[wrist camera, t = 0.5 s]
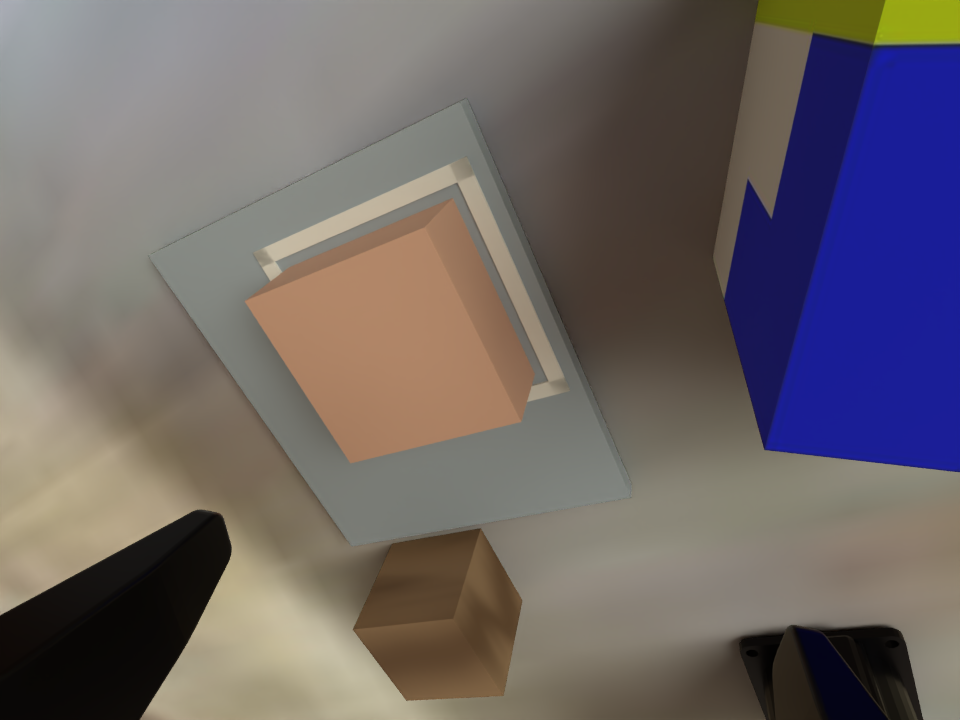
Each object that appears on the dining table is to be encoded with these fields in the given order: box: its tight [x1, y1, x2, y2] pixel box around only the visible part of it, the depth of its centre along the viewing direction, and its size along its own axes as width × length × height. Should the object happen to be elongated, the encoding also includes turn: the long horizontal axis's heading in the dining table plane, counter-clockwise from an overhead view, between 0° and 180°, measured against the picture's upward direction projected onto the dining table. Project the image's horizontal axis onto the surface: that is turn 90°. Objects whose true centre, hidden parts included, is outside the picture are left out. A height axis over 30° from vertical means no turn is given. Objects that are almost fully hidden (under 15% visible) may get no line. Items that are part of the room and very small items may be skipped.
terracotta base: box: [245, 198, 535, 463], centre depth 21 cm, size 7×7×3 cm
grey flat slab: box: [148, 98, 632, 546], centre depth 24 cm, size 16×14×1 cm
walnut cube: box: [353, 528, 522, 701], centre depth 28 cm, size 5×5×5 cm
